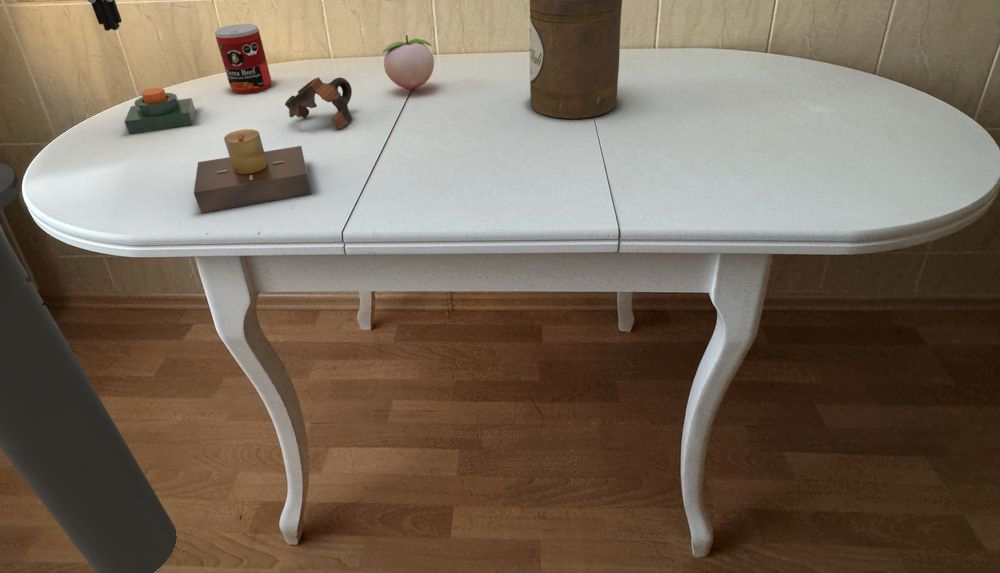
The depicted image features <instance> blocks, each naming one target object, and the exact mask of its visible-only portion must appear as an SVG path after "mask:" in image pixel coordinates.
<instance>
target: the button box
mask: <svg viewBox="0 0 1000 573" xmlns="http://www.w3.org/2000/svg"><path fill="white" fill-rule="evenodd" d="M165 93H166V96H167V99H166V100H164V101H161V102H157V103H145V102H144V100H143V97H142V96H141V97H139V98H137V99H136V100H135V101H134V105H131V106H130V107H129V110H128V113H127V114H126V117H125V119H124V124H125V127H126V129H127V132H128V134H129V135H133V134H140V133H146V132H154V131H160V130H167V129H173V128H174V129H175V128H182V127H189V126H194V120H195V114H196V108H195V105H194V101H193V99H192V98H191V97H189V98H182V99H181V98H180V99H178V96H177V94H175V93H172V92H165Z"/></svg>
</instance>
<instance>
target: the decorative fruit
mask: <svg viewBox="0 0 1000 573" xmlns="http://www.w3.org/2000/svg"><path fill="white" fill-rule="evenodd" d="M428 46H430V47H432V44H431V43H430V42H429V41H427V40H425V39H421V38H413V39H410V40H409V38H408V34H405V42H404V41H394V42H391V43H389V44H387V46H385V48H384V49H383V51H382V53H385V55H384V57H383V69H384V71H385V73H386V75H387V77H388V78H389V80H390V81H392V83H394V84H395V85H397V86H398V87H400V88H402V89H404V90H408V91H410V92H412V91H415V90H416V89H418V88H419V87H421V86H423V85H424V84H425V83H427V82H428V81H429V80H430V78H431V77H432V74H433V73H434V67H435V59H434V55H433V53H432V51H431V50H430V48H428Z"/></svg>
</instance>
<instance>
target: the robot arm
mask: <svg viewBox="0 0 1000 573" xmlns="http://www.w3.org/2000/svg"><path fill="white" fill-rule="evenodd" d="M86 1H87V2H88V3H89V4H91V7H92V9H93V12H94V15H95V18H96V20H97V23H98V24H99V25H102V27H103V28H104V31H107V32H108V31H110V30H112V31H117V30H118V29H119V28H120V23H122V16H121V14H120V11H119V8H118V4H117V2H116V0H86Z"/></svg>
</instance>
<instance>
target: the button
mask: <svg viewBox="0 0 1000 573" xmlns="http://www.w3.org/2000/svg"><path fill="white" fill-rule="evenodd" d="M166 93H167V92H166V90H165V88H162V87H153V88H148V89H145V90H143V91H141V94H140V95H141V97H143V100H144V102H145V103H157V102H161V101H164V100H166V99H167V96H166Z"/></svg>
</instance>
